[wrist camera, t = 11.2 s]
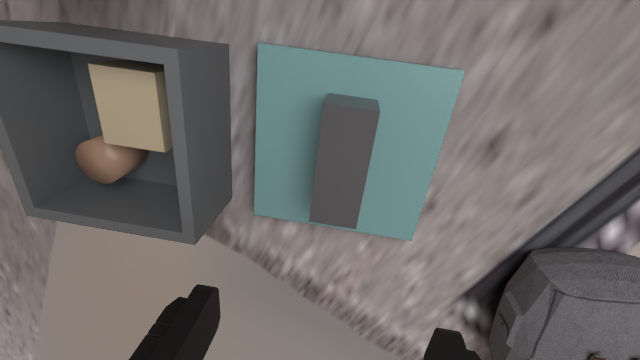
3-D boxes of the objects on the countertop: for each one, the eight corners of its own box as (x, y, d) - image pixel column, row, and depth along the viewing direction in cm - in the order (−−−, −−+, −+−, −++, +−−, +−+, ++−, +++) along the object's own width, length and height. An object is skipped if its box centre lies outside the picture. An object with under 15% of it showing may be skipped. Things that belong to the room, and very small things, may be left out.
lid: (265, 42, 25) (239, 44, 20) (457, 68, 25) (484, 78, 19) (259, 204, 33) (239, 238, 27) (408, 229, 32) (418, 269, 26)
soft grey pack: (502, 236, 31) (465, 362, 39) (547, 301, 23) (489, 439, 32) (671, 245, 29) (592, 375, 38) (779, 319, 21) (650, 460, 30)
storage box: (62, 22, 26) (-49, 18, 19) (228, 44, 26) (177, 49, 18) (99, 176, 33) (26, 215, 26) (232, 197, 32) (195, 244, 25)
